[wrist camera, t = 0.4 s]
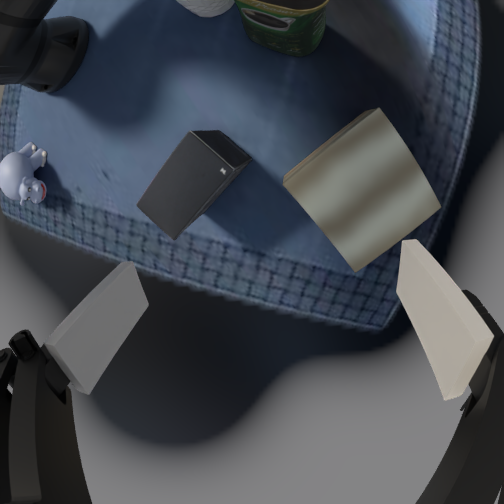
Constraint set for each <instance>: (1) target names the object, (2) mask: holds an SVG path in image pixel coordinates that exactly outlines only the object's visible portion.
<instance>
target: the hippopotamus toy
mask: <svg viewBox="0 0 504 504" xmlns="http://www.w3.org/2000/svg"><path fill="white" fill-rule="evenodd" d="M35 150H36V146H35V145H34V144H33V143H32V142H30V143H28V144H27V145H26V146H25V147H24V148H22V149H21V150H20V151H19V152H13V153H10V154H9V155H7V156H6V157H5V158H4V159H3V160H2V162H1V163H0V187H1V189H2V191H3V192H4V194H5V195H6V196H7V197H9V198H10V199H13V200H21V202H20V204H21V205H22V206H23V205H24V204H25V203H24V200H29V199H31V201H32V202H33V203H40V202H41V201H42V200H44V198H45V196H46V192H47V189H46V185H45V183H44V182H43V181H40V180H37V179H36V178H34V171H35V170H36V169H37V168H38V167H39V166H41V167H44V163H45V162H46V155H47V153H46V151H44V150H43V149H39V150H37V151H35Z"/></svg>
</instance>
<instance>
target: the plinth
mask: <svg viewBox="0 0 504 504" xmlns="http://www.w3.org/2000/svg"><path fill="white" fill-rule="evenodd" d="M283 185H284V187H285V188H286V189H287V190H288V191H289V192H290V193H291V195H292V196H293V197H294V198H295V199H296V200H297V201H298V203H299V204H300V205H301V206H302V207H303V208H304V210H305V211H306V212H307V213H308V214H309V216H310V217H311V218H312V219H313V220H314V222H315V223H316V224H317V225H318V226H319V228H320V229H321V230H322V231H323V233H324V234H325V235H326V236H327V237H328V239H329V240H330V241H331V242H332V244H333V245H334V246H335V247H336V249H337V250H338V251H339V252H340V254H341V255H342V256H343V258H344V259H345V260H346V261H347V263H348V264H349V265H350V267H351V268H352V269H353V271H354V272H355V273H356V272H357V271H359V270H360V269H362V268H363V267H364V266H366V265H367V264H369V263H370V262H371V261H373V260H374V259H376V258H377V257H378V256H380V255H381V254H382V253H384V252H385V251H386V250H388V249H389V248H391V247H392V246H393V245H394V244H396V243H397V242H398V241H400V240H401V239H402V238H404V237H405V236H406V235H408V234H409V233H410V232H411V231H413V230H414V229H415V228H416V227H418V226H419V225H420V224H421V223H423V222H424V221H425V220H426V219H428V218H429V217H430V216H431V215H433V214H434V213H435V212H436V211H437V210H439V209H440V208H441V205H440V203H439V201H438V199H437V197H436V195H435V194H434V192H433V190H432V188H431V186H430V184H429V182H428V181H427V179H426V177H425V175H424V174H423V172H422V170H421V168H420V167H419V165H418V163H417V162H416V160H415V158H414V157H413V155H412V154H411V152H410V150H409V149H408V147H407V146H406V144H405V143H404V141H403V140H402V138H401V137H400V135H399V134H398V132H397V131H396V130H395V128H394V127H393V125H392V124H391V123H390V121H389V120H388V118H387V117H386V116H385V114H384V113H383V112H382V110H381V109H380V108H376V109H371V110H367V111H365V112H363V113H362V114H361V115H359V116H358V117H357V118H355V119H354V120H353V121H352V122H350V123H349V124H348V125H346V126H345V127H344V128H343V129H341V130H340V131H339V132H337V133H336V134H335V135H334V136H332V137H331V138H330V139H329V140H327V141H326V142H325V143H324V144H322V145H321V146H320V147H319V148H317V149H316V150H315V151H314V152H312V153H311V154H310V155H309V156H308V157H306V158H305V159H304V160H303V161H301V162H300V163H299V164H298V165H297V166H295V167H294V168H293V169H292V170H290V171H289V172H288V173H287V174H286V175H284V179H283Z"/></svg>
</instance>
